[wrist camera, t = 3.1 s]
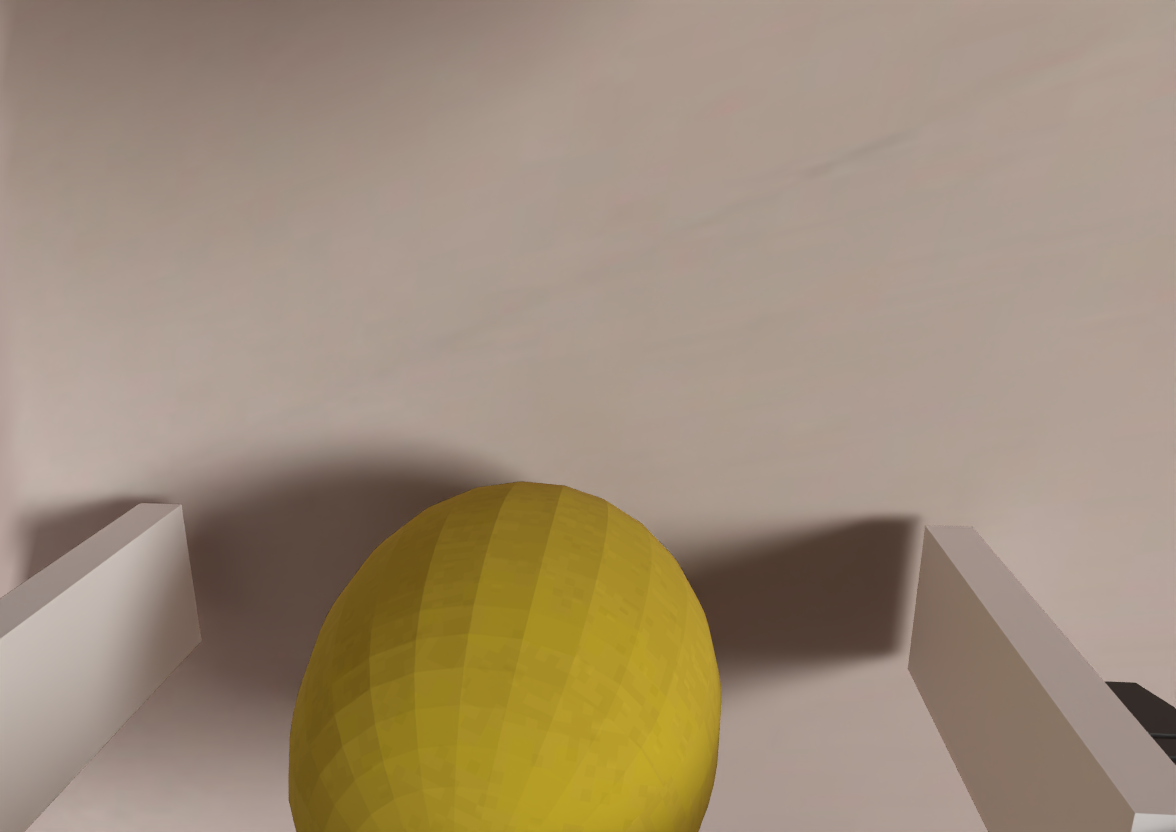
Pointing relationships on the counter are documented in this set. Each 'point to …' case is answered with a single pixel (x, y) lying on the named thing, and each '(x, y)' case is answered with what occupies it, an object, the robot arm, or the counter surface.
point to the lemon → (510, 678)
